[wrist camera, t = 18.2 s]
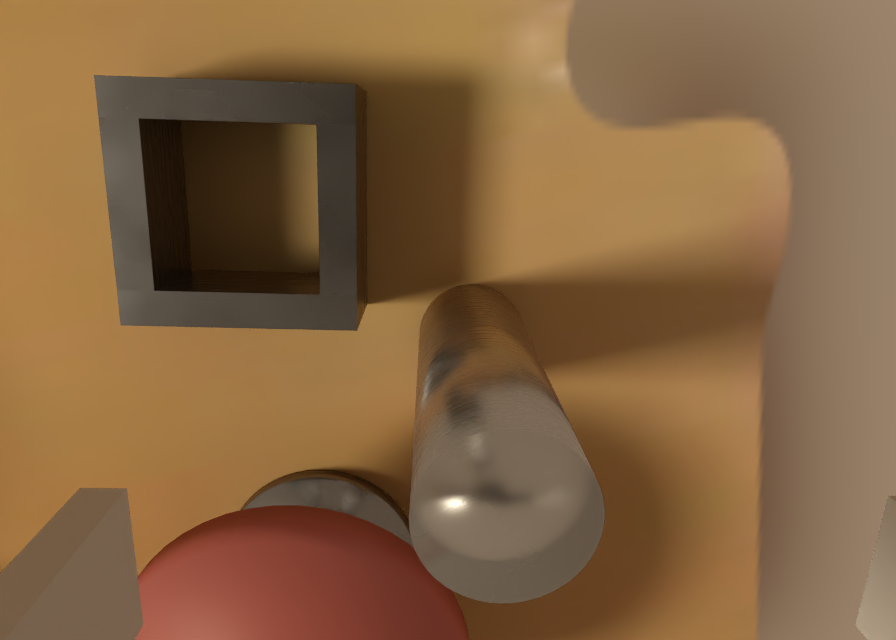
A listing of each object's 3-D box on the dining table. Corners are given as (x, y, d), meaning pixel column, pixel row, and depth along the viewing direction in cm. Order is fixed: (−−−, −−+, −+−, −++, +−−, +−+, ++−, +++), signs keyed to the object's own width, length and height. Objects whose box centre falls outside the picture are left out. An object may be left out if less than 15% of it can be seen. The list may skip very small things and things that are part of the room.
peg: (420, 283, 25) (410, 428, 13) (524, 286, 26) (613, 432, 13) (418, 381, 26) (407, 602, 14) (518, 383, 27) (595, 604, 14)
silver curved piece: (223, 468, 27) (171, 552, 22) (417, 471, 28) (414, 555, 22) (234, 630, 29) (189, 744, 24) (414, 632, 30) (410, 745, 24)
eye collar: (143, 84, 23) (94, 75, 20) (366, 91, 23) (355, 83, 20) (161, 299, 25) (120, 325, 22) (366, 304, 26) (356, 330, 22)
